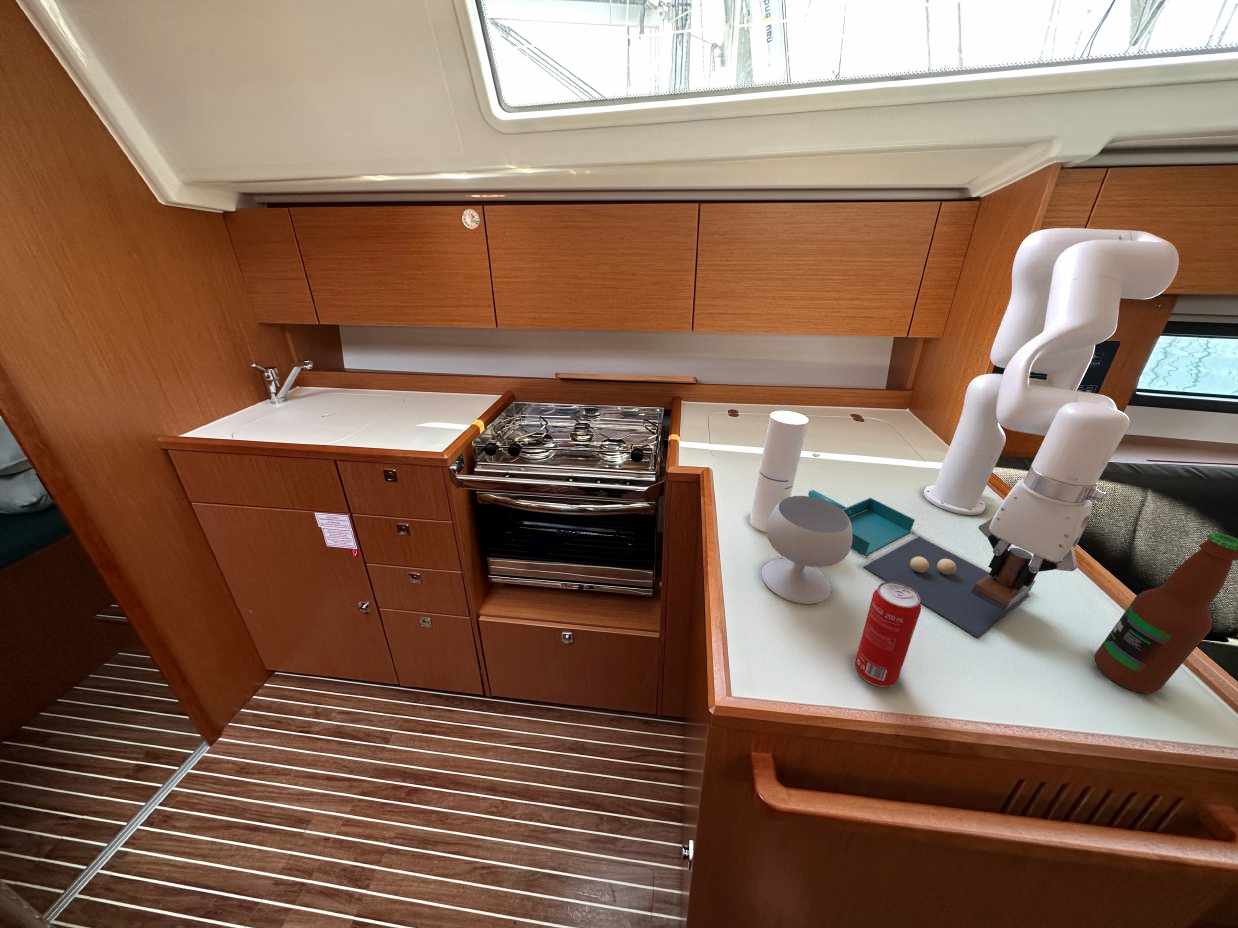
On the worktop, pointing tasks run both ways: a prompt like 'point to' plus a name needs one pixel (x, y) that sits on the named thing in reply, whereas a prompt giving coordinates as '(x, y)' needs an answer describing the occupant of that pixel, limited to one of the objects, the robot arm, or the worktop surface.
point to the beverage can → (887, 633)
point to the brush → (1005, 581)
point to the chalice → (805, 547)
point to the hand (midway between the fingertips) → (1007, 579)
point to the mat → (941, 585)
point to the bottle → (1167, 620)
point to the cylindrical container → (778, 464)
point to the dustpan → (872, 523)
